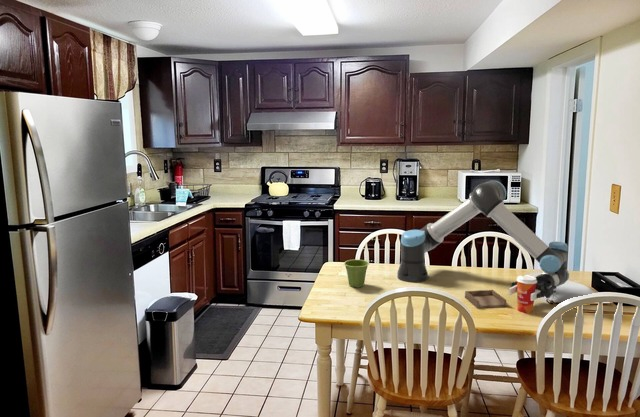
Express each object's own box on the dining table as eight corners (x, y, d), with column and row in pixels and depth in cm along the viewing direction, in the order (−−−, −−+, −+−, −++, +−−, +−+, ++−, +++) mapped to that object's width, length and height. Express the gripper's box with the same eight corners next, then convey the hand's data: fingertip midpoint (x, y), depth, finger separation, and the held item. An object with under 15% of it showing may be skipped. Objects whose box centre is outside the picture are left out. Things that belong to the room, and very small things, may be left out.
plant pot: (339, 285, 221) (339, 263, 219) (354, 279, 230) (354, 258, 228) (358, 291, 213) (358, 268, 211) (373, 284, 222) (373, 262, 220)
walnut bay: (476, 308, 191) (477, 301, 190) (464, 297, 203) (465, 291, 203) (506, 306, 192) (506, 300, 191) (492, 296, 204) (492, 289, 204)
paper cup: (511, 307, 191) (513, 275, 189) (528, 306, 192) (530, 274, 190) (520, 314, 184) (522, 281, 181) (539, 313, 184) (541, 280, 182)
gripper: (571, 296, 190) (546, 311, 176) (521, 284, 206) (495, 296, 192) (572, 279, 189) (548, 292, 175) (522, 268, 205) (496, 279, 191)
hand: (520, 294), depth 183 cm, fingers open, 8 cm apart
